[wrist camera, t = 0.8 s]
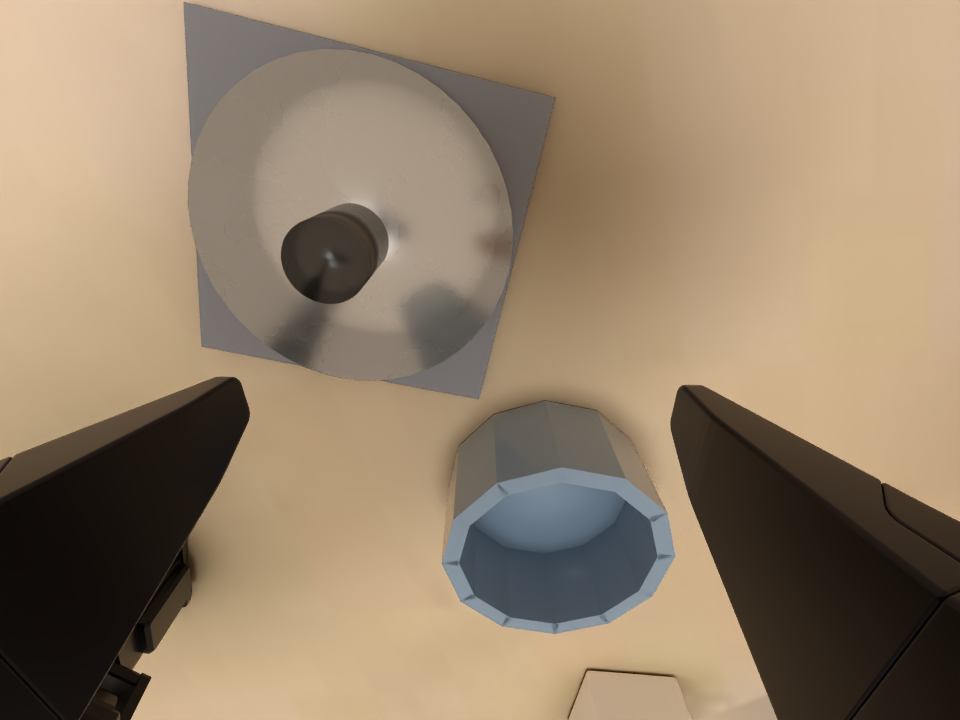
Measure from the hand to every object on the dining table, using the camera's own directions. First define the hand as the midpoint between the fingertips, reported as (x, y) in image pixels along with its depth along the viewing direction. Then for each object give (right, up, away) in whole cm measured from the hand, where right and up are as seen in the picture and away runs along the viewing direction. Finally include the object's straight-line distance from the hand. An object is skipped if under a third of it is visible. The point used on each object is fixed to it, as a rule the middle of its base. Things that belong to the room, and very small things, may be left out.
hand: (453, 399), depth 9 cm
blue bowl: (+4, -6, +17) cm, 19 cm away
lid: (-5, +6, +11) cm, 13 cm away
